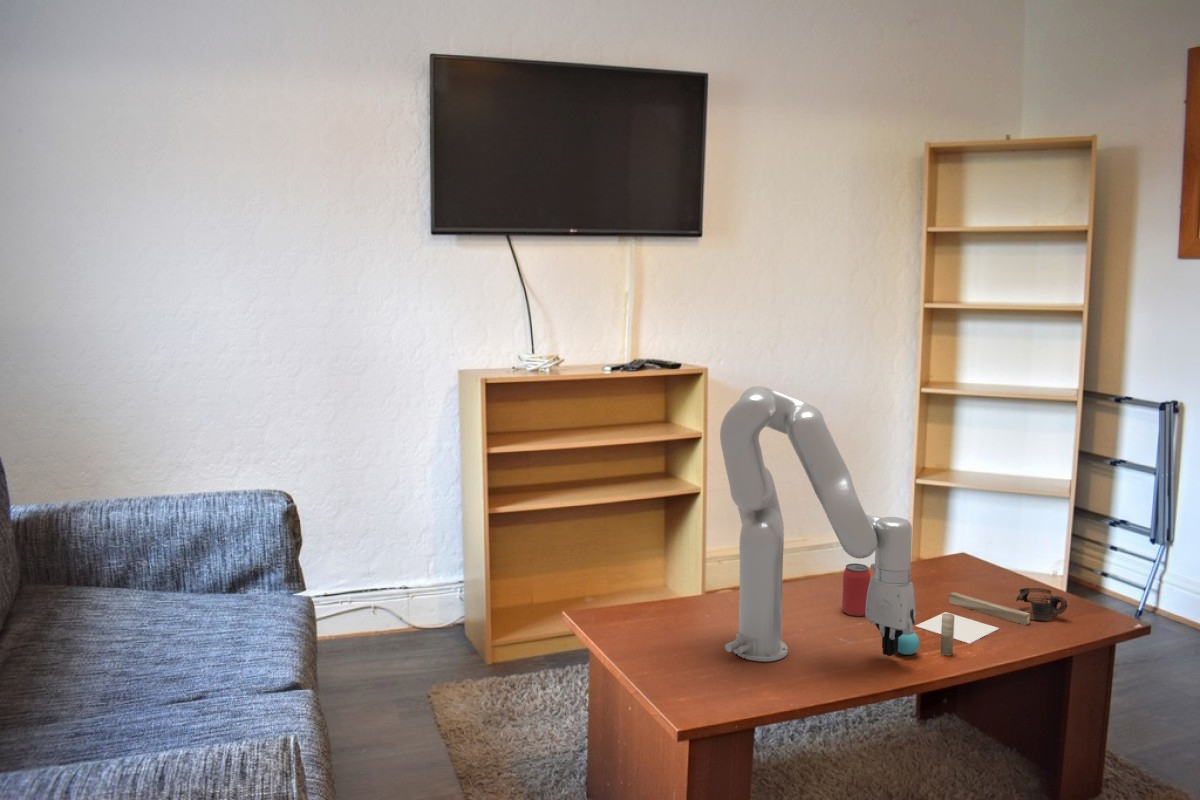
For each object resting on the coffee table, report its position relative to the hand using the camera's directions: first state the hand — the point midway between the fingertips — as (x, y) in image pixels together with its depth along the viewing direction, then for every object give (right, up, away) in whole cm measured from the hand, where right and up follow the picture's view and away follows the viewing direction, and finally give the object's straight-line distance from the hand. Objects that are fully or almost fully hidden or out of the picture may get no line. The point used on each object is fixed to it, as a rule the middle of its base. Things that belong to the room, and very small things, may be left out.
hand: (889, 653), depth 204 cm
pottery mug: (+46, +2, +26) cm, 53 cm away
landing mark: (+22, +1, +19) cm, 29 cm away
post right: (+14, -1, +4) cm, 15 cm away
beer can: (+1, +2, +29) cm, 30 cm away
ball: (+5, +2, +4) cm, 6 cm away
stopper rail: (+34, +2, +28) cm, 44 cm away
